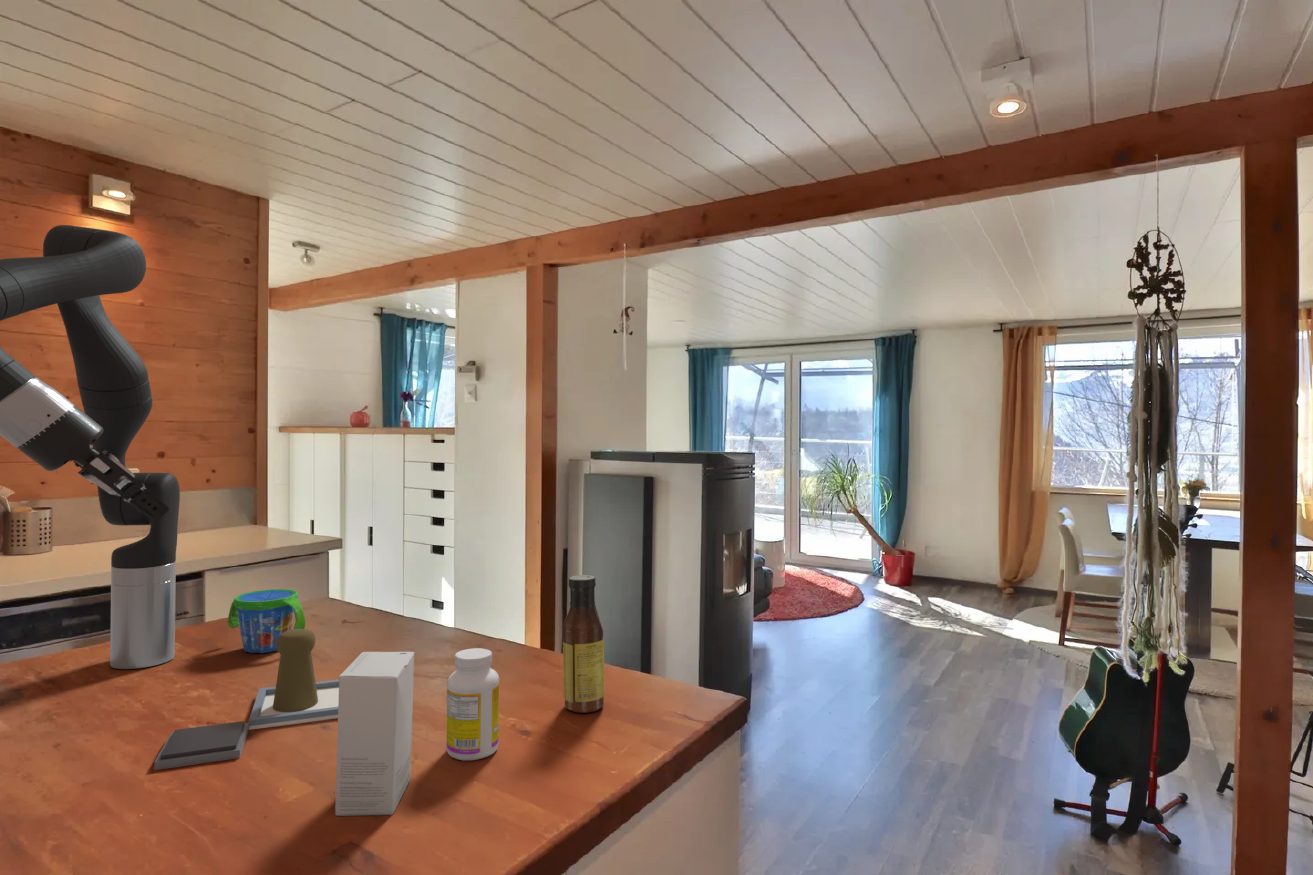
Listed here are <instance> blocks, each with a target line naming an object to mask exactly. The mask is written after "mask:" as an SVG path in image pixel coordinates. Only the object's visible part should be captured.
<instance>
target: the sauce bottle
mask: <svg viewBox="0 0 1313 875" xmlns="http://www.w3.org/2000/svg"><path fill="white" fill-rule="evenodd" d="M568 586H569V589H570V591H569V592H570V596H569V597H570V598H569V599H570V601H569V606H570V607H569V610H568V613H567V614H566V616H565V618H564V621H563V622H562V623H563V624H562V626H563V627H562V628H563V631H562V632H563V639H562V668H563V670H562V671H563V672H562V676H563V677H562V678H563V698H564V707H565V709H566V710H569V711H572V712H573V713H578V714H579V713H580V714H581V713H582V714H584V713H585V714H588V713H592V712H593V713H594V712H597V711H598V710H600V709H601V708H603V706H604V704H605V702H604V700H605V699H604V698H605V697H604V696H605V694H606V692H605V691H606V689H605V686H606V685H605V683H606V682H605V646H604V645H605V642H604V641H605V640H604V637H605V636H604V635H605V634H604V629H603V627H602V623H601V620H600V616H599V614H598V610H597V605H596V599H595V598H596V597H595V596H596V595H595V588H596V577H595V576H593V575H589V574H580V575H579V574H576V575H572V576H570V577H569V578H568Z"/></svg>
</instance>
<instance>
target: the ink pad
mask: <svg viewBox="0 0 1313 875" xmlns="http://www.w3.org/2000/svg"><path fill="white" fill-rule="evenodd" d="M249 731H250V730H249V722H245V720H243V721H242V720H241V721H235V722H234V721H233V722H226V723H225V722H224V723H218V724H212V725H210V724H209V725H204V726H203V725H202V726H195V727H187V728H177V729H174V731H173V732H170V734H169V736H168V738H167V739H166V742H165V743H164V745H163V747H162V748H161V750H160V751H159V753H158V755H157V757H156V758H155V760H154V771H159V770H166V769H172V768H180V767H187V766H192V765H193V766H194V765H200V764H207V763H215V762H221V761H228V760H236V759H240V758H241V756H240V755H242V752H243V749H244V745H245V743H246V739H247V736H248V733H249Z"/></svg>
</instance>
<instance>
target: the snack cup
mask: <svg viewBox="0 0 1313 875" xmlns="http://www.w3.org/2000/svg"><path fill="white" fill-rule="evenodd" d="M298 597H299V594H298V591H296V590H295V589H294V590H293V589H289V588H273V589H272V588H270V589H261V590H260V589H259V590H254V591H248V592H246V593H241V594H239V595H236V596H235V597H234V598H233V601H232V603H231V604H230V609H229V612H228V617H227V625H228V627H229V628H230V629H235V628H238V627H239V632H240V637H241V644H242V647H243V651H244V652H248V653H251V654H264V653H265V654H266V653H271V652H276V651H277V647H276V642H277V639H278V637H279V636H280V634H282V633H283V632H285V631H289V630H292V627H293V629H306V616H305V613H304V610H303V606H302V603H301V602H300V601H299V599H298ZM294 618H295V622H294V621H293V620H294ZM293 622H294V626H293ZM277 652H278V651H277Z"/></svg>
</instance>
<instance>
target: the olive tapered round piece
mask: <svg viewBox="0 0 1313 875" xmlns="http://www.w3.org/2000/svg"><path fill="white" fill-rule="evenodd" d="M315 645H316V636H315V633H314V632H313V631H312V630H310V629H309V628H307V629H306V628H304V629H294V628H293V629H291V630H289V631H285V632H283V633H282V634H280V636H279V637H278V639H277V642H276V647H277V652H278V654H279V655H280V657H279V663H278V671H277V678H276V683H275V684H276V685H275V687H276V689H275V696H274V703H273V709H274V710H276V711H279V712H294V711H300V710H304V709H307V708H310V707H312V706H314V705H316V704H317V703H318V696H317V689H316V682H317V681H316V676H315V669H314V662H313V656H312V655H313V654H312V651H313V650H314V648H315Z"/></svg>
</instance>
